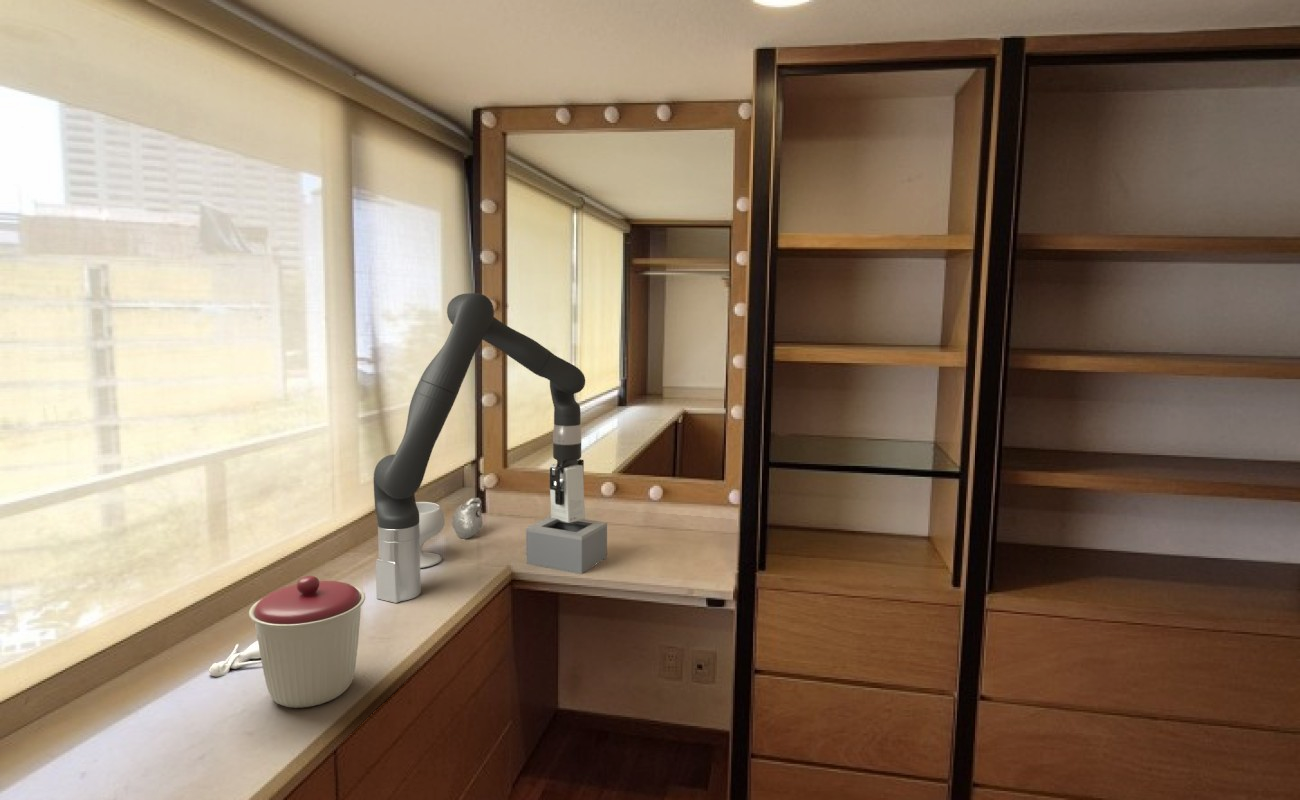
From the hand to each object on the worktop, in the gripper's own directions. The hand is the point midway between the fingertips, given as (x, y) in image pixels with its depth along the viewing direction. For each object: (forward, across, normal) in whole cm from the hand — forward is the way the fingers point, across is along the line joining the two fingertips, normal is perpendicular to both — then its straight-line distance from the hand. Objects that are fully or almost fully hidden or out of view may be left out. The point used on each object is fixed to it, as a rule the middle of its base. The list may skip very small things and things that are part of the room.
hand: (567, 501), depth 191 cm
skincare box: (+5, 0, 0) cm, 5 cm away
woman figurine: (+17, -73, +25) cm, 79 cm away
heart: (+17, +5, +38) cm, 42 cm away
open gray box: (+17, 0, 0) cm, 17 cm away
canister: (+17, -78, +5) cm, 80 cm away
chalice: (+17, -19, +35) cm, 43 cm away
